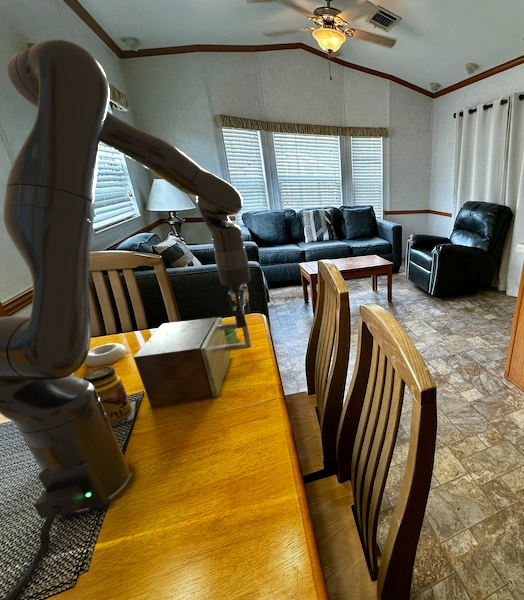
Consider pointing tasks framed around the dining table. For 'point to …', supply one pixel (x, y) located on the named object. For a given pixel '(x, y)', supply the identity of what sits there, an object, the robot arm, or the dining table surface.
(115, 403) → the condiment
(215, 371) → the door
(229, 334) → the ramekin
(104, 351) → the donut
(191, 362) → the cupboard
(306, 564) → the dining table surface
